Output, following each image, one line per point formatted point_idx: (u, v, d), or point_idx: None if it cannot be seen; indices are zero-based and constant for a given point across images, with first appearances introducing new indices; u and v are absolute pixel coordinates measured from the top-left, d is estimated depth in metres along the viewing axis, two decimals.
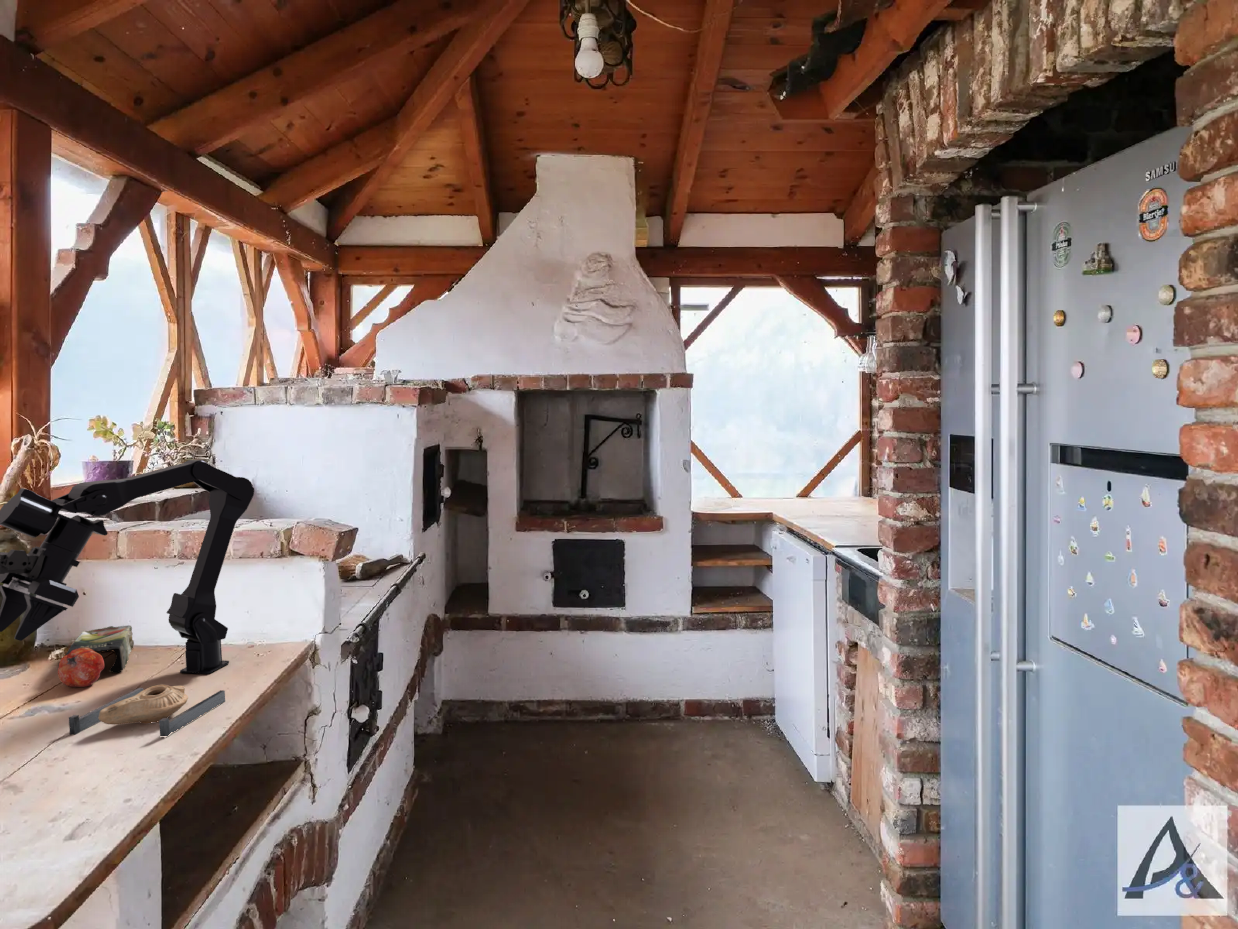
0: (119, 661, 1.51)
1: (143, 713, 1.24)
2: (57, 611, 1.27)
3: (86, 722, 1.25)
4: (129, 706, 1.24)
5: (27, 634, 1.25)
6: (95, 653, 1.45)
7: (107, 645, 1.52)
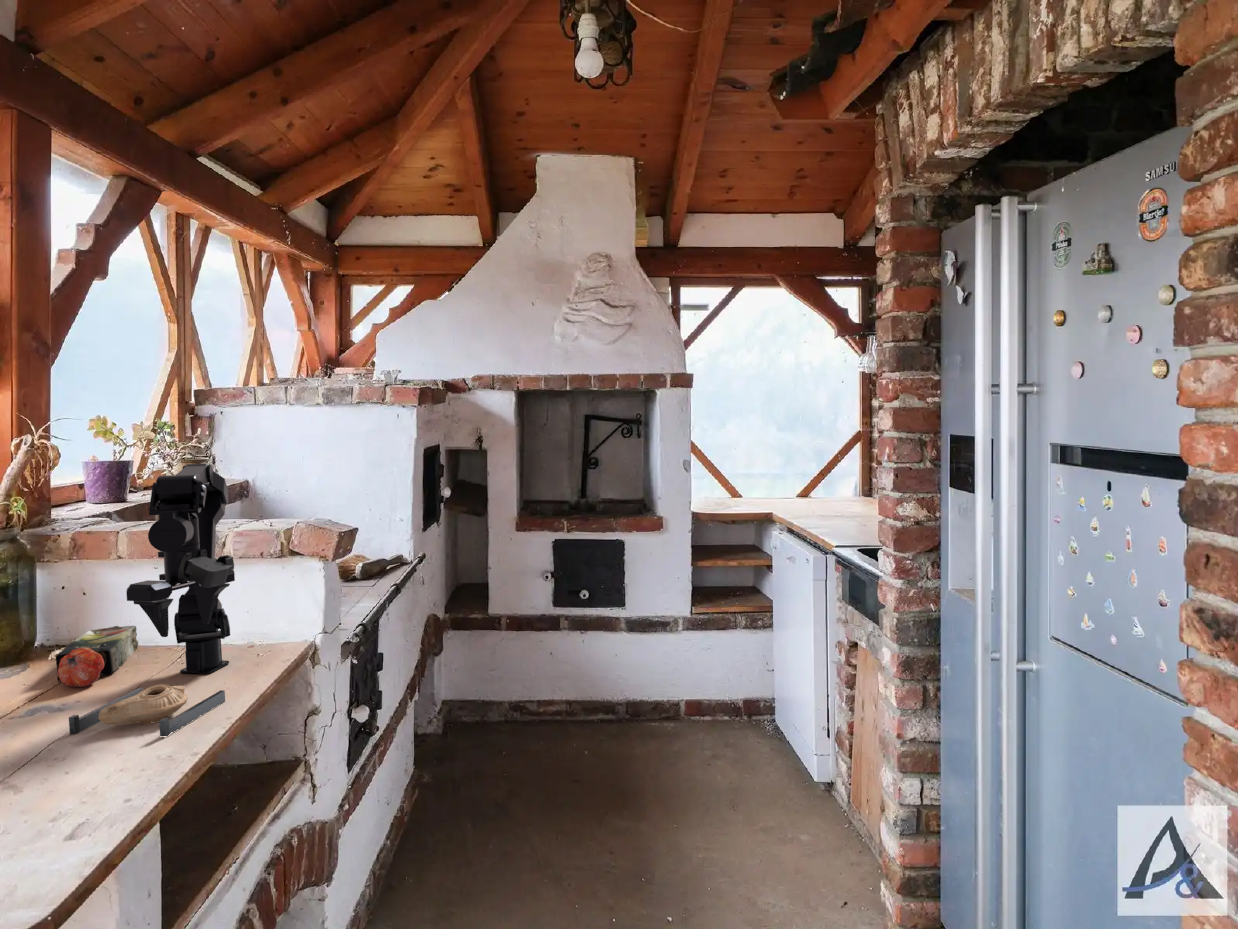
0: (109, 663, 1.50)
1: (143, 713, 1.24)
2: None
3: (86, 722, 1.25)
4: (129, 706, 1.24)
5: None
6: (95, 653, 1.45)
7: (100, 646, 1.51)
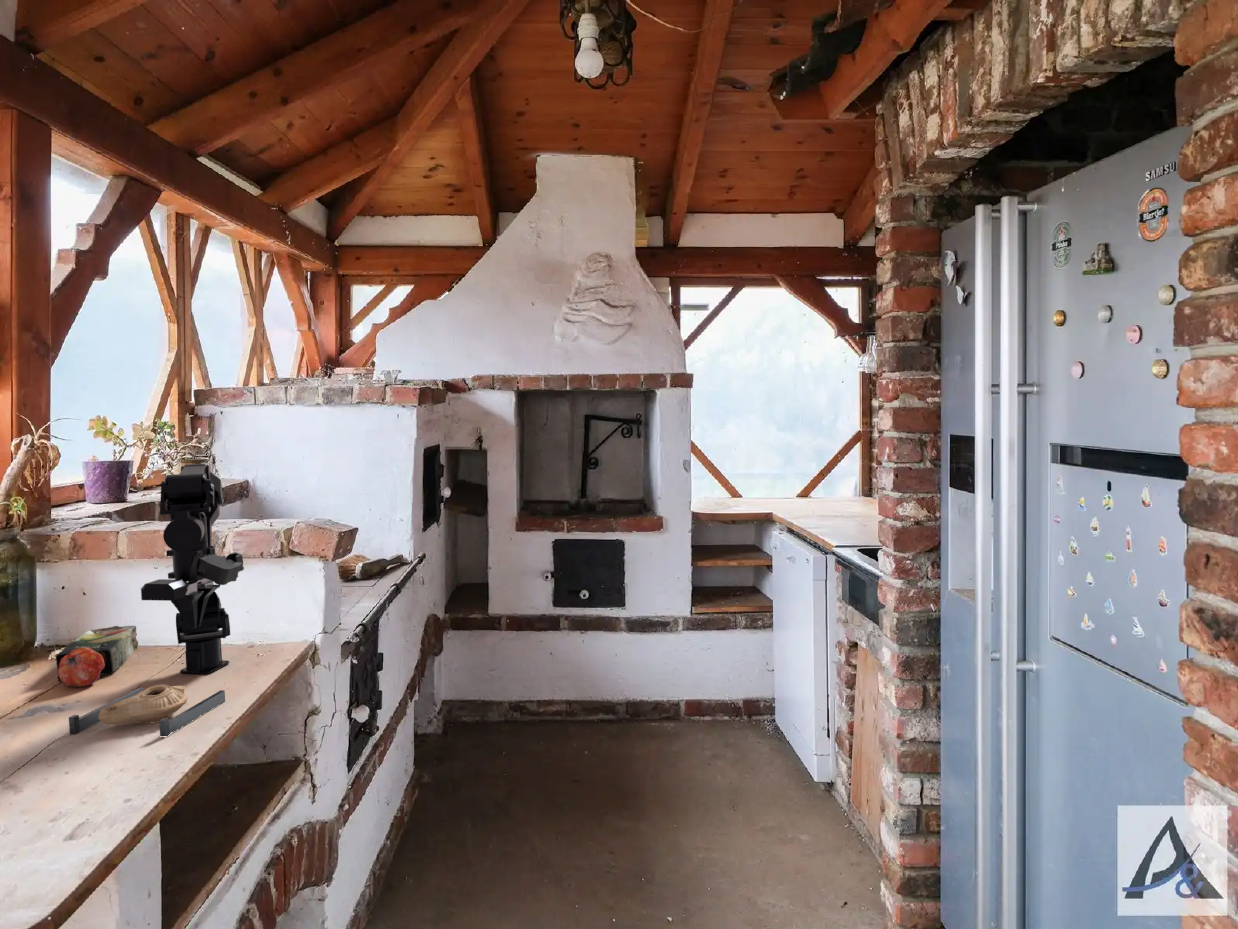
0: (109, 663, 1.50)
1: (142, 713, 1.24)
2: None
3: (86, 722, 1.25)
4: (129, 706, 1.24)
5: None
6: (95, 653, 1.45)
7: (100, 646, 1.51)
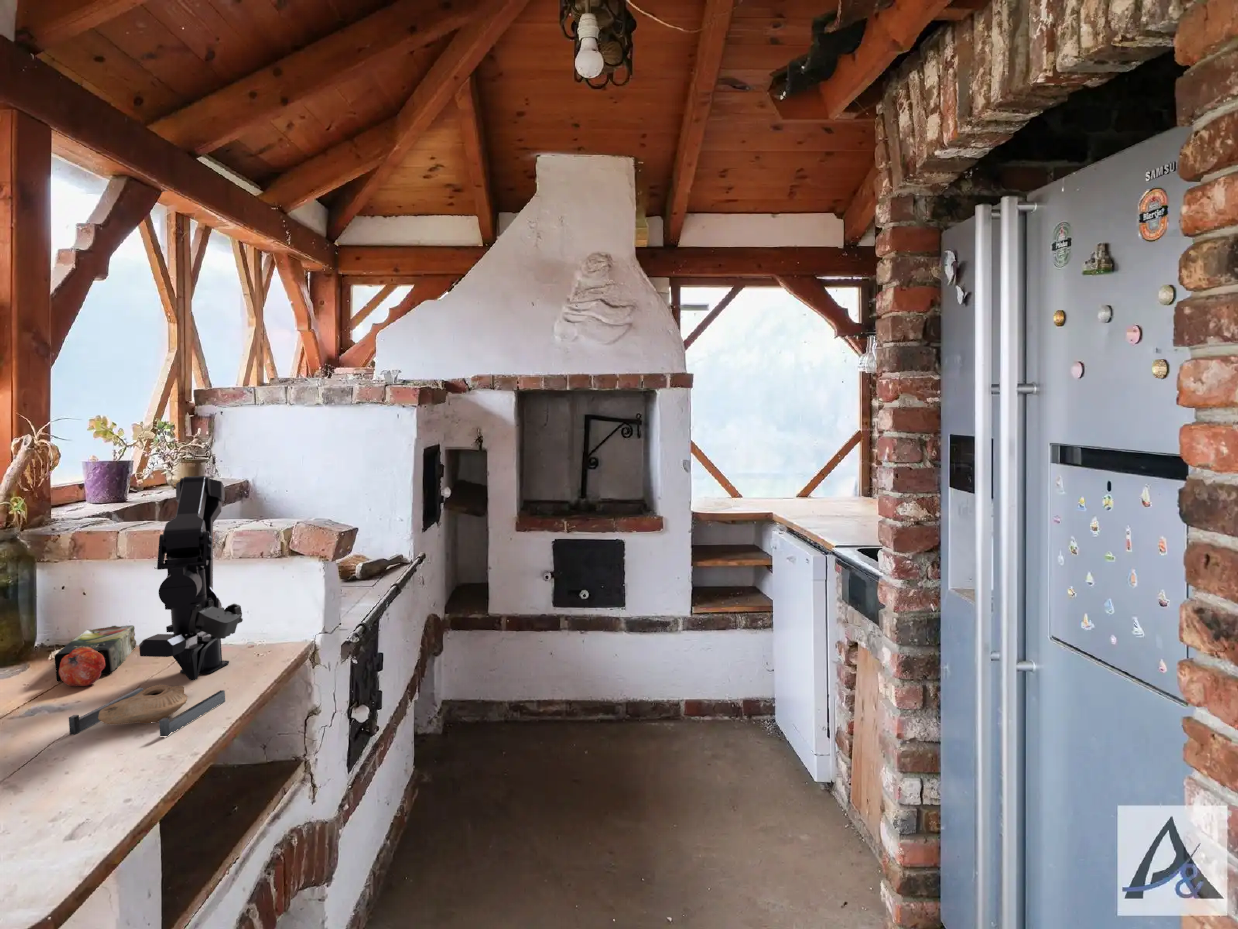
0: (108, 663, 1.50)
1: (142, 713, 1.24)
2: None
3: (86, 722, 1.25)
4: (129, 706, 1.24)
5: None
6: (96, 652, 1.45)
7: (98, 646, 1.51)
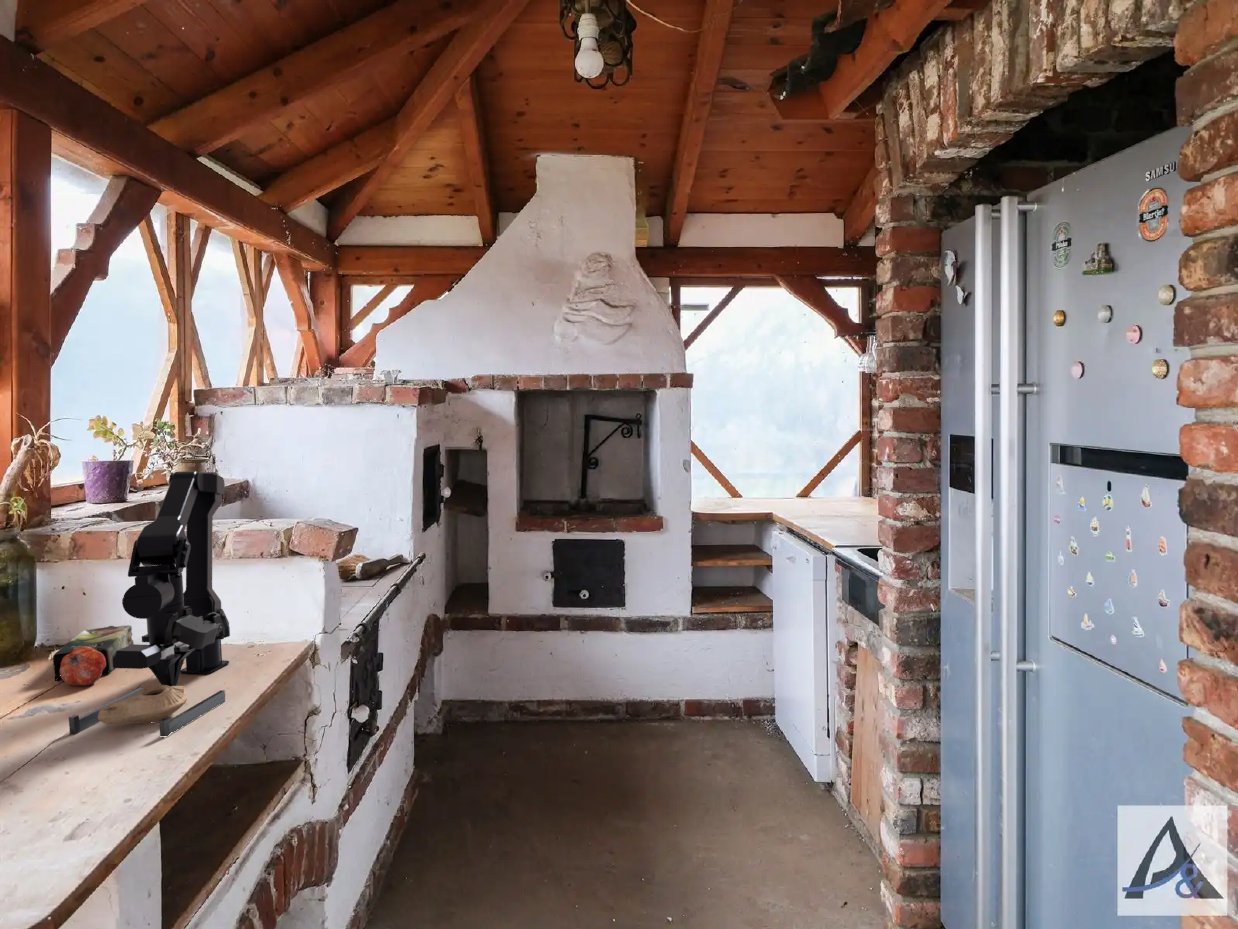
0: (107, 662, 1.50)
1: (142, 713, 1.24)
2: None
3: (86, 722, 1.25)
4: (128, 706, 1.24)
5: None
6: (97, 652, 1.46)
7: (97, 646, 1.52)
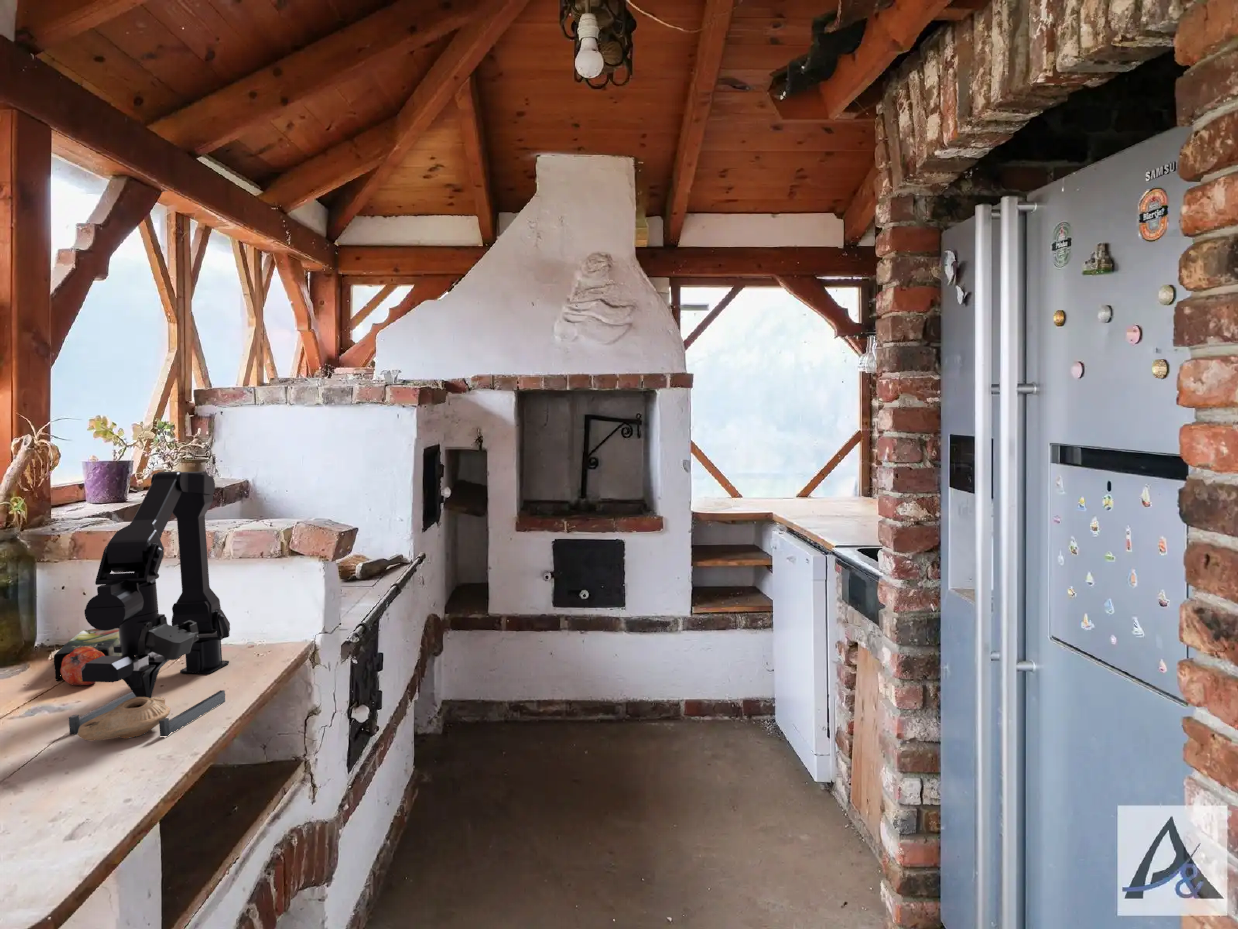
0: None
1: (127, 726, 1.18)
2: None
3: None
4: (111, 720, 1.18)
5: None
6: (98, 651, 1.46)
7: (97, 646, 1.52)
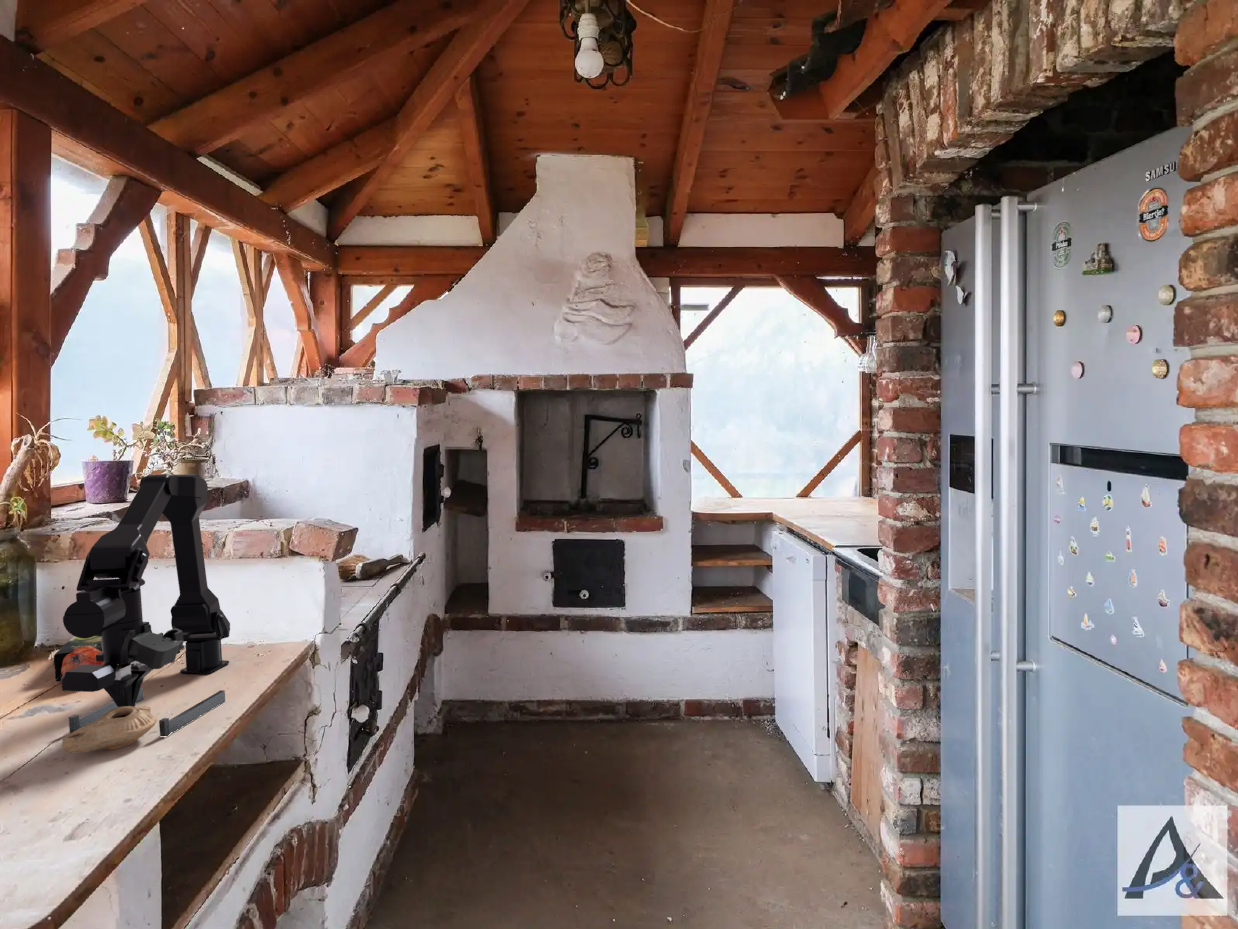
0: None
1: (113, 737, 1.15)
2: None
3: (86, 722, 1.25)
4: (96, 731, 1.14)
5: None
6: (98, 651, 1.46)
7: (97, 645, 1.52)
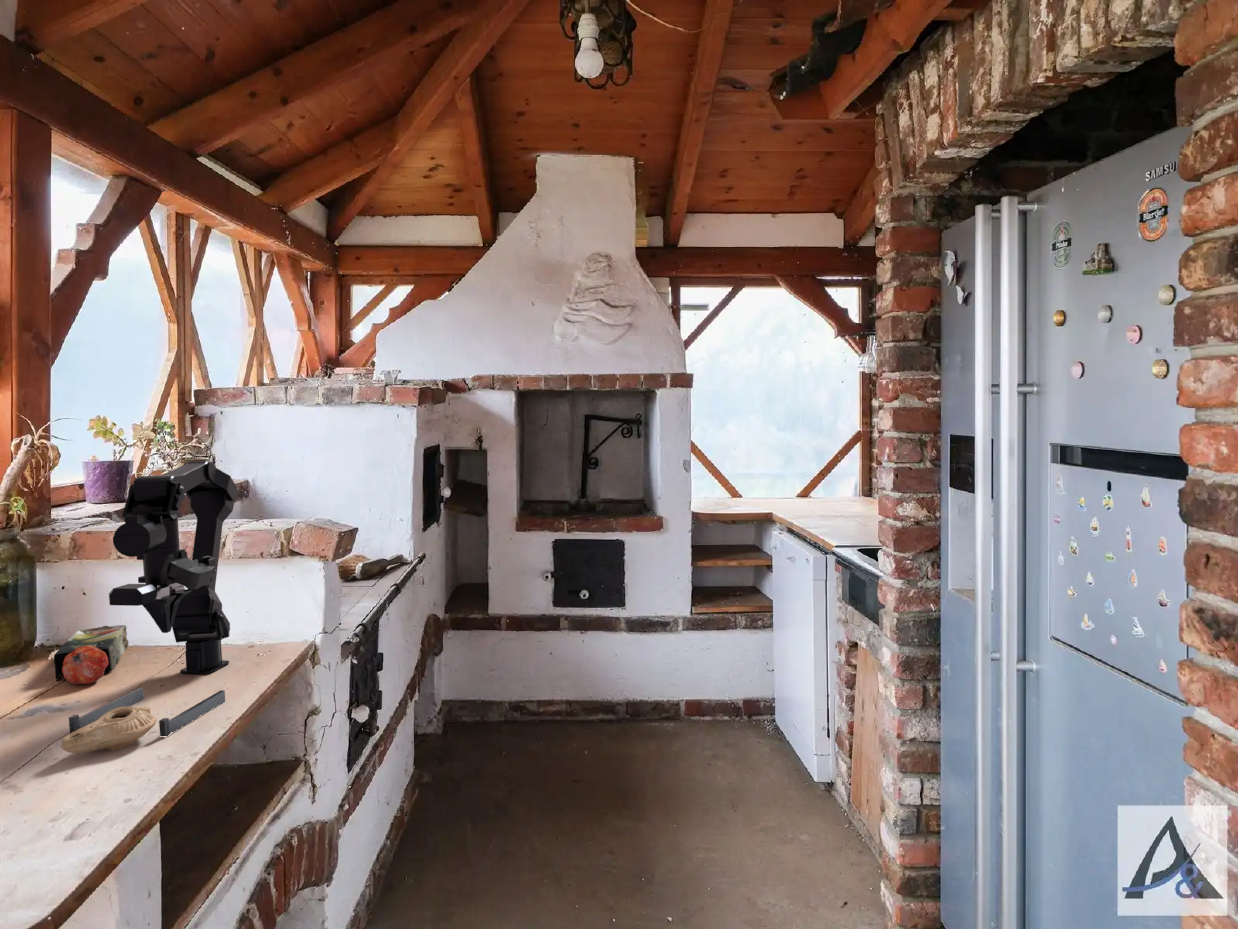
0: (108, 661, 1.51)
1: (113, 737, 1.15)
2: None
3: (86, 722, 1.25)
4: (96, 731, 1.14)
5: None
6: (99, 650, 1.46)
7: (97, 645, 1.52)
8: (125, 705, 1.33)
